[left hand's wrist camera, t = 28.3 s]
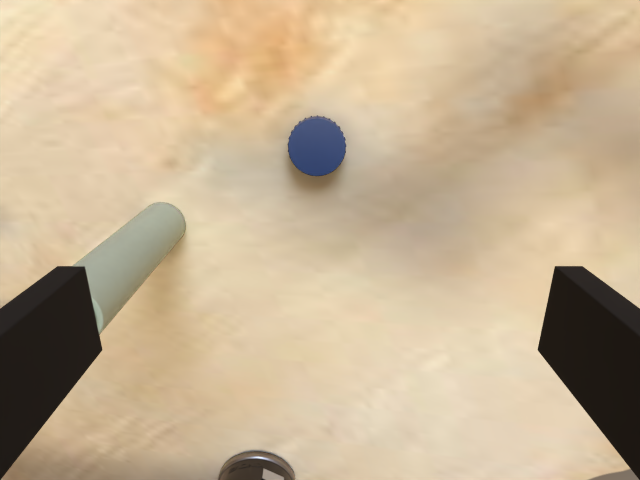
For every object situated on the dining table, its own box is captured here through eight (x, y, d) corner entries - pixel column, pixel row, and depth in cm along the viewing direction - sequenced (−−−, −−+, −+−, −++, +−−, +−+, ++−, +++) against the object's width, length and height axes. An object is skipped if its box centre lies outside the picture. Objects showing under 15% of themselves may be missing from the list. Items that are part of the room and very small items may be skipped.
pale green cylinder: (139, 201, 42) (6, 297, 24) (183, 202, 42) (83, 297, 24) (144, 243, 44) (23, 361, 26) (187, 243, 44) (96, 362, 26)
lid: (325, 183, 42) (325, 187, 40) (278, 153, 41) (276, 157, 39) (356, 135, 40) (357, 138, 38) (307, 104, 39) (307, 105, 37)
